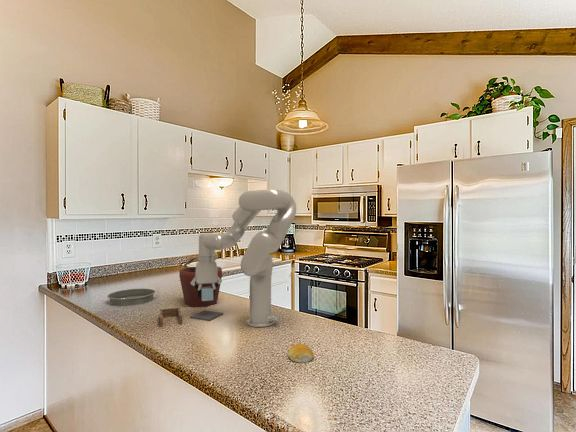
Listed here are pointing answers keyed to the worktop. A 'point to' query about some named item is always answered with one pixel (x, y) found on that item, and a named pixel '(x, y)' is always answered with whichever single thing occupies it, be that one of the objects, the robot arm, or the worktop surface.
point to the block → (206, 293)
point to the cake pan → (131, 297)
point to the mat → (206, 315)
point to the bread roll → (300, 353)
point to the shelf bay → (170, 314)
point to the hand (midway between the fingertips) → (206, 297)
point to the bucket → (190, 291)
